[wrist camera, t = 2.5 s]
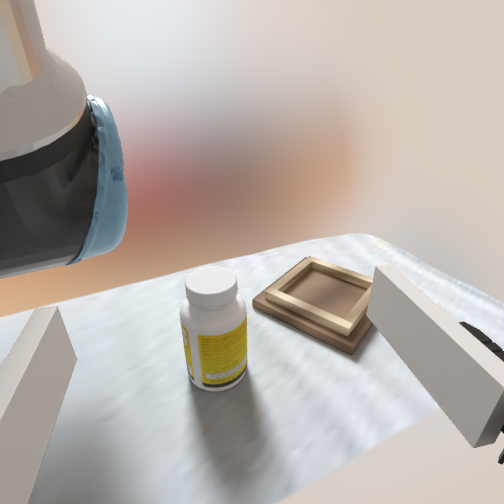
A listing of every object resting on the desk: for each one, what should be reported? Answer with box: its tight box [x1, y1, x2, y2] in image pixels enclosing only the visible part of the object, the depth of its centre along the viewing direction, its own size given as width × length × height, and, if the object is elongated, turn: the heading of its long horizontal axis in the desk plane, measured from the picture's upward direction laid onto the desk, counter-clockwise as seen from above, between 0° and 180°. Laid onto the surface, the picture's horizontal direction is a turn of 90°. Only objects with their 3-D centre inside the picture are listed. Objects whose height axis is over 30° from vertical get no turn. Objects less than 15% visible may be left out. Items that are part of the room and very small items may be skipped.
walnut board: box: [253, 256, 373, 355], centre depth 38 cm, size 12×12×2 cm
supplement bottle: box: [180, 266, 247, 391], centre depth 28 cm, size 5×5×10 cm
